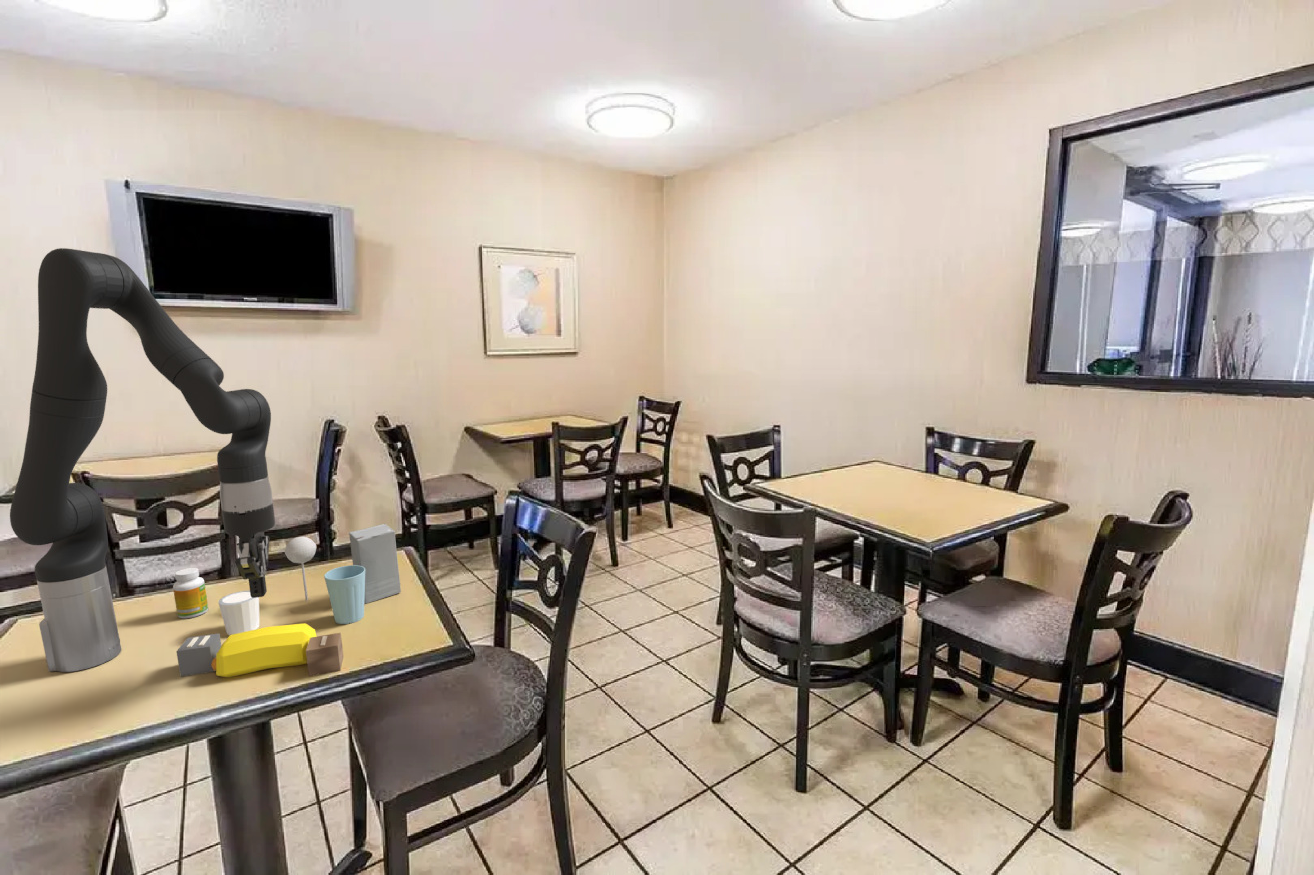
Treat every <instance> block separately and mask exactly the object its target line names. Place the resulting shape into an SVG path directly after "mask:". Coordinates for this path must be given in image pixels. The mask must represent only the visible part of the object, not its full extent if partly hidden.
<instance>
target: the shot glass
mask: <svg viewBox="0 0 1314 875" xmlns="http://www.w3.org/2000/svg"><path fill="white" fill-rule="evenodd" d="M217 603H218V605H219V610H220V613H221V616H222V620H223V625H224V628H225V631H226V634H227V635H228V636H230V635H233V634H237V633H242V632H247V631H251V630H256V629H259V627H260V597H257V598H252V597H251V595H250V589H249V590H241V591H236V592H233V593H229V594H227V595H225V596H223V597H222V598H220V599H219V600H218V602H217Z"/></svg>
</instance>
